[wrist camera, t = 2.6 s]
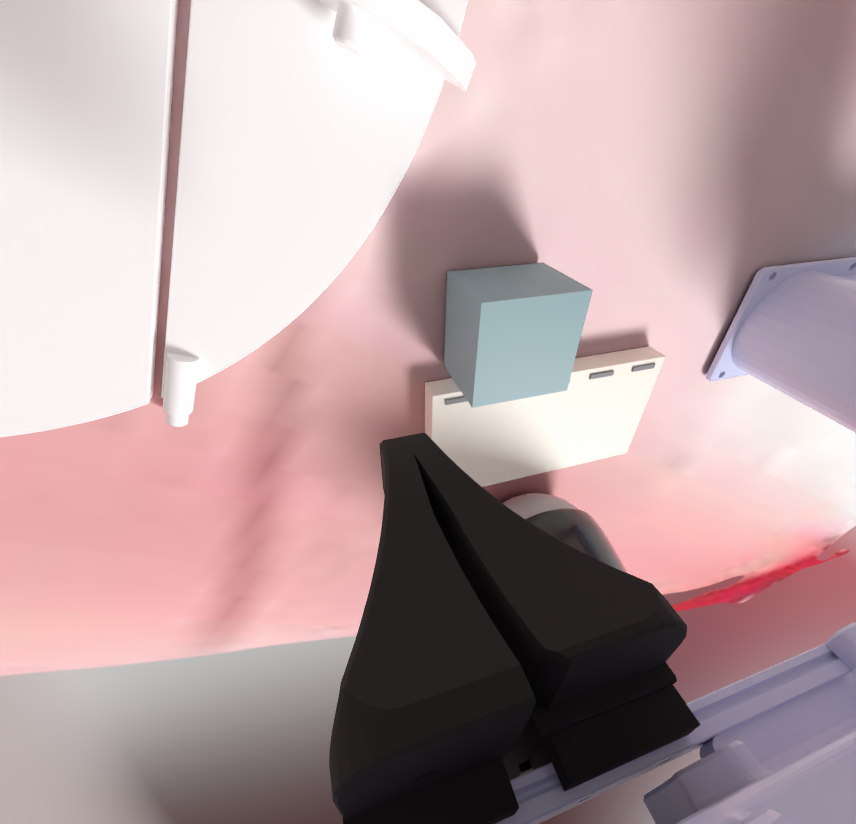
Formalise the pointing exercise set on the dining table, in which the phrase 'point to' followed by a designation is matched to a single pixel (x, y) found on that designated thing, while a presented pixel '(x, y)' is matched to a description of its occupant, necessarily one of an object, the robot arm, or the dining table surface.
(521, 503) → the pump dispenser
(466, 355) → the pale blue cube
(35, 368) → the lazy susan
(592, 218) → the dining table surface
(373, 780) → the robot arm
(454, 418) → the white slotted box
